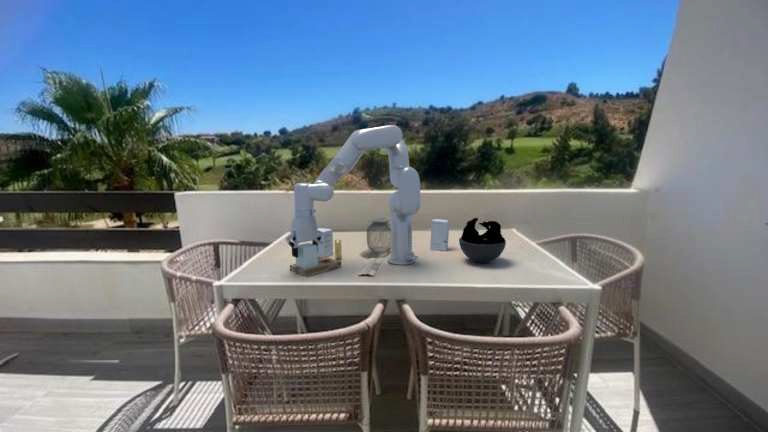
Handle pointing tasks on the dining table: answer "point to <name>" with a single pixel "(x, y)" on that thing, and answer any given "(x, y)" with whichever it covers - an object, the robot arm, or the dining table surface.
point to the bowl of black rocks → (482, 241)
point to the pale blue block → (307, 256)
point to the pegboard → (317, 267)
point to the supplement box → (325, 243)
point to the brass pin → (338, 250)
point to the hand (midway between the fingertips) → (305, 254)
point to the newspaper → (371, 266)
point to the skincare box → (439, 234)
